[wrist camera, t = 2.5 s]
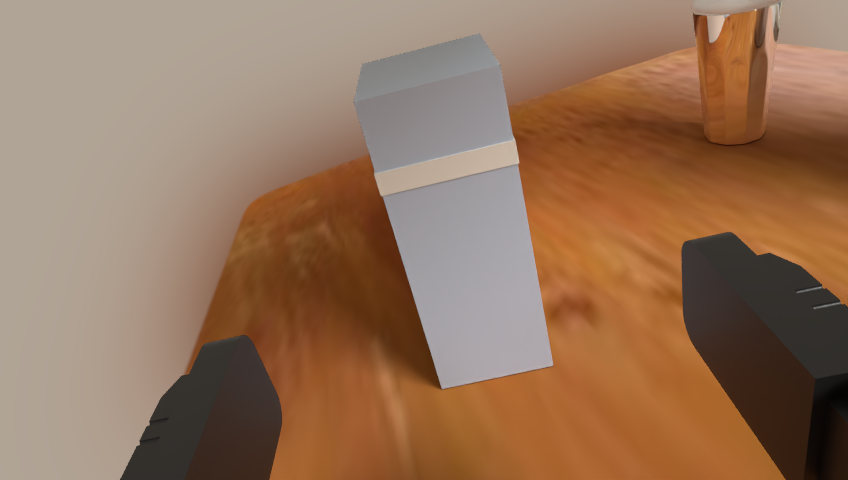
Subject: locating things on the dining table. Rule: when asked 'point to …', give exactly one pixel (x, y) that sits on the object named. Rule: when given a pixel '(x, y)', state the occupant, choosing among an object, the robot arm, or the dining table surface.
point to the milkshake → (735, 65)
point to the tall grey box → (456, 206)
